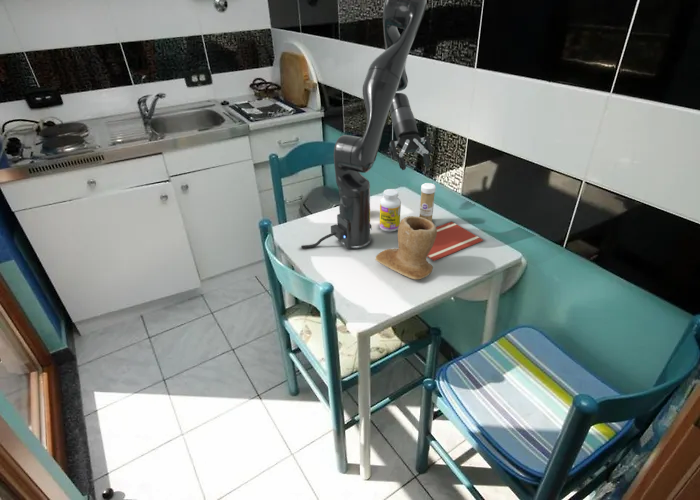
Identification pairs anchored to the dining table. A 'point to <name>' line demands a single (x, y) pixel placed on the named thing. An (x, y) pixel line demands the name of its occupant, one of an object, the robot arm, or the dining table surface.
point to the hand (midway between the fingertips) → (416, 167)
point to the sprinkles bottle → (427, 200)
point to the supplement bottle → (390, 210)
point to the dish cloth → (451, 240)
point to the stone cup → (411, 248)
